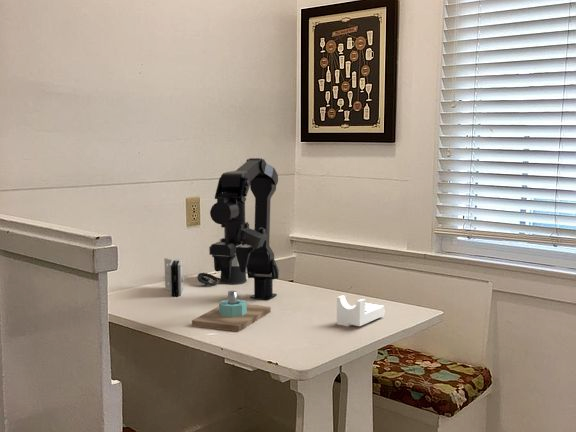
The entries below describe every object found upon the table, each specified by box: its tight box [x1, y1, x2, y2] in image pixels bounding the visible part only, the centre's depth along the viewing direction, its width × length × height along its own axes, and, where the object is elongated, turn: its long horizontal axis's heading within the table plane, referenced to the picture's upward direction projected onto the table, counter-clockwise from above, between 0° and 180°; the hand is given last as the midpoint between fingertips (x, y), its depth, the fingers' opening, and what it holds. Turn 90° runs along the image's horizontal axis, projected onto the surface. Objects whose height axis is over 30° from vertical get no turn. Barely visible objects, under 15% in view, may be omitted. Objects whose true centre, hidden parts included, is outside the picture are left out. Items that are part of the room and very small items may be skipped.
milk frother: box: [196, 238, 248, 287], centre depth 221 cm, size 14×16×15 cm
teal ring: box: [218, 299, 248, 317], centre depth 178 cm, size 7×7×3 cm
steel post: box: [227, 290, 238, 305], centre depth 178 cm, size 2×2×6 cm
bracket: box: [336, 295, 386, 327], centre depth 176 cm, size 13×7×8 cm, turn 142°
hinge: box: [164, 257, 184, 298], centre depth 210 cm, size 14×5×10 cm, turn 18°
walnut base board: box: [191, 303, 272, 332], centre depth 179 cm, size 20×14×2 cm
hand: (235, 275), depth 178 cm, fingers open, 9 cm apart
